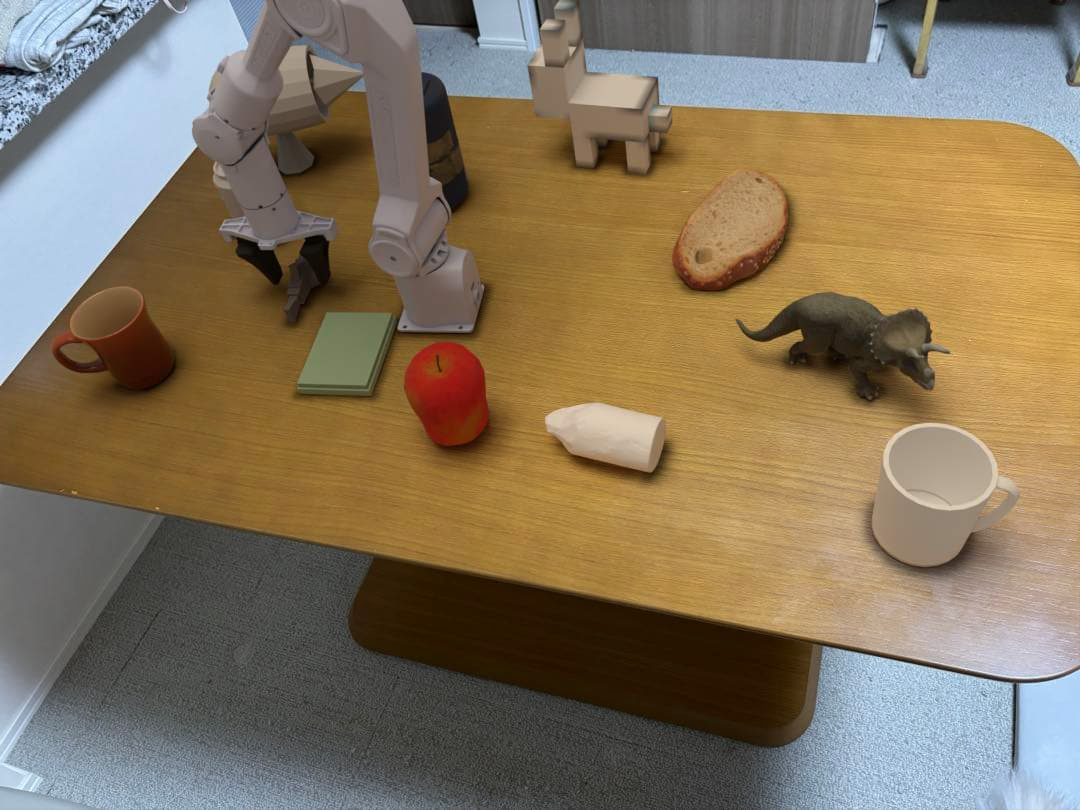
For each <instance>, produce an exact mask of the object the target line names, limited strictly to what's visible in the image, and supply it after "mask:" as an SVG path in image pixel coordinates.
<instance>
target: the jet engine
mask: <svg viewBox="0 0 1080 810" xmlns="http://www.w3.org/2000/svg"><path fill="white" fill-rule="evenodd" d="M224 68H225V67H224ZM279 70H280V72H281V74H282V77H283V88H282V91H281V93H280V95H279V97H278V98H277V100H276V102H275V104H274V106H273V108H272V110H271V112H270V114H269V115H268V119H269V127H268V129H267V136H268V137H269V136H271V137H272V136H276V150H277V168H278V171H279V172H281V173H282V174H285V175H292V174H301V173H302V172H303V171H305V170H307V169H309V168H311V167H312V166H313V162H314V159H315V156H314V155H313V154H312V152H311V151H310V150H309V149H308V148H307V147H306V146H305V145H304V143H302V141H301V140H300V139H299V137H297V136H296V135H295V132H298V131H299V132H300V131H302V130H303V131H304V130H307V129H311V128H314V127H317V126H320V125H323V124H326V123H329V122H330V119H331V105H332V104H334V103H335V102H336V101H337V100H339V98H341V97H342V96H343V95H344V94H345V93H346V92H348V90H349V89H352V87H353V86H354V85H355V84H357V82H359V81H360V80H361V79H362V78H364V75H363V70H362V71H361V70H359V69H356V68H353V67H349V66H346V65H343V64H341V63H337V62H334V61H331V60H328V59H325V58H322V57H319V56H318V55H317V53H316V51H315V50H314V48H313V47H312V46H311V45H310V44H305V45H304V44H303V45H291V47H290V49H289V50H288V52H287V54H286V56H285V57H284V59H283V61H282V63H281V64H280V66H279ZM221 75H222V74H221V73H219V72H218V71H217V69H216V70H215V71H214V73H213V75H212V76H211V79H210V84H209V86H208V93H209V92H210V91H211V90H212V89H213V88H214V87H216V86H217V84H218V82H219V79H220V77H221ZM208 102H209V103H210V101H208ZM209 103H208V104H209Z"/></svg>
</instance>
